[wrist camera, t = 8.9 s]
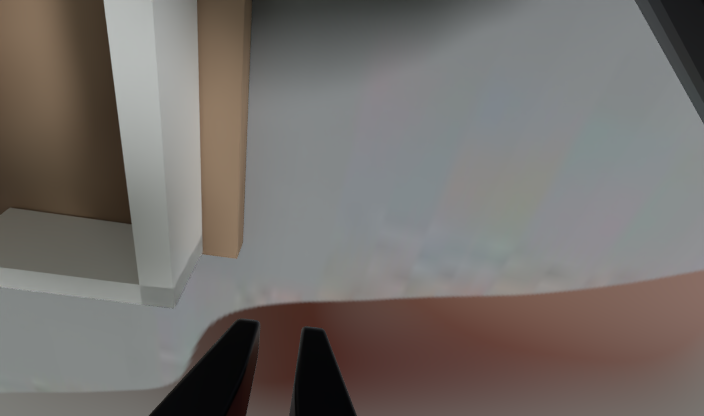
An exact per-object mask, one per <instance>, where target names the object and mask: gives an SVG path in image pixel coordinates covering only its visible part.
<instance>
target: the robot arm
mask: <svg viewBox="0 0 704 416" xmlns="http://www.w3.org/2000/svg"><path fill="white" fill-rule="evenodd" d="M635 2H636V3H637V5H638V7H639V9H640V10H641V12H642V14H643V16H644V18H645V19H646V21H647V23H648V25H649V27H650V28H651V30H652V32H653V34H654V36H655V37H656V39H657V41H658V43H659V45H660V46H661V48H662V50H663V52H664V54H665V55H666V57H667V59H668V61H669V62H670V64H671V66H672V68H673V70H674V71H675V73H676V75H677V77H678V79H679V80H680V82H681V84H682V86H683V88H684V89H685V91H686V93H687V95H688V97H689V98H690V100H691V102H692V104H693V105H694V107H695V109H696V111H697V113H698V114H699V116H700V118H701V120H702V122H703V123H704V0H635ZM259 336H260V323H259V322H258V321H257V320H249V319H238V320H236V321H235V322H234V323H233V325H231V327H230V328H229V329H228V330H227V331H226V332H225V333H224V334H223V335H222V336H221V337H220V339H219V340H218V341H217V342H216V343H215V344H214V345H213V346H212V347H211V348H210V349H209V351H208V352H207V353H206V354H205V355H204V356H203V357H202V358H201V359H200V360H199V361H198V363H197V364H196V365H195V366H194V367H193V368H192V369H191V370H190V371H189V372H188V374H186V376H185V377H184V378H183V379H182V380H181V381H180V382H179V383H178V384H177V386H175V388H174V389H173V390H172V391H171V392H170V393H169V394H168V395H167V396H166V397H165V398H164V400H163V401H162V402H161V403H160V404H159V405H158V406H157V407H156V408H155V409H154V410H153V412H152V413H151V414H150V415H149V416H246V413H247V408H248V403H249V398H250V393H251V389H252V383H253V379H254V374H255V368H256V363H257V358H258V350H259ZM289 416H357V415H356V412H355V410H354V407H353V405H352V402H351V399H350V396H349V393H348V391H347V388H346V386H345V383H344V380H343V378H342V375H341V372H340V370H339V367H338V364H337V362H336V359H335V356H334V354H333V351H332V348H331V346H330V343H329V340H328V338H327V335H326V333H325V331H324V330H323V329H322V328H315V327H303V329H302V332H301V338H300V345H299V352H298V359H297V366H296V373H295V381H294V387H293V394H292V401H291V407H290V414H289Z"/></svg>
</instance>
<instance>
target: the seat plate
mask: <svg viewBox="0 0 704 416" xmlns="http://www.w3.org/2000/svg"><path fill="white" fill-rule="evenodd" d="M251 17H252V0H197V24H198V69H199V113H200V158H201V202H202V246H203V252H202V254H206V255H213V256H221V257H228V258H236V259H237V257H238V254H239V252H240V249H241V246H242V244H243V224H244V198H245V172H246V147H247V121H248V95H249V69H250V43H251ZM9 208H16V209H24V210H31V211H38V212H45V213H53V214H60V215H67V216H75V217H82V218H89V219H96V220H104V221H111V222H118V223H125V224H132V222H131V214H130V206H129V198H128V190H127V182H126V174H125V166H124V158H123V150H122V143H121V135H120V127H119V119H118V111H117V103H116V95H115V87H114V79H113V71H112V63H111V55H110V47H109V39H108V32H107V24H106V16H105V8H104V0H0V215H1V214H2V213H3V212H5V211H6V210H7V209H9Z"/></svg>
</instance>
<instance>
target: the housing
mask: <svg viewBox="0 0 704 416" xmlns="http://www.w3.org/2000/svg"><path fill="white" fill-rule="evenodd" d="M104 8H105V16H106V24H107V32H108V39H109V47H110V55H111V63H112V71H113V79H114V87H115V95H116V103H117V111H118V119H119V127H120V135H121V143H122V150H123V158H124V166H125V174H126V182H127V190H128V198H129V206H130V214H131V222H132V224H125V223H118V222H111V221H104V220H96V219H89V218H82V217H75V216H67V215H60V214H53V213H45V212H38V211H31V210H24V209H16V208H9V209H7V210H6V211H5V212H3V213H2V214H1V215H0V287H3V288H11V289H19V290H27V291H35V292H43V293H51V294H59V295H67V296H75V297H83V298H92V299H100V300H108V301H116V302H124V303H132V304H140V305H148V306H156V307H164V308H172V309H175V307H176V305H177V303H178V301H179V299H180V297H181V295H182V292H183V290H184V288H185V286H186V284H187V282H188V280H189V278H190V276H191V274H192V272H193V270H194V268H195V266H196V264H197V262H198V260H199V258H200V256H201V254H202V252H203V246H202V202H201V158H200V113H199V69H198V24H197V0H104Z"/></svg>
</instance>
